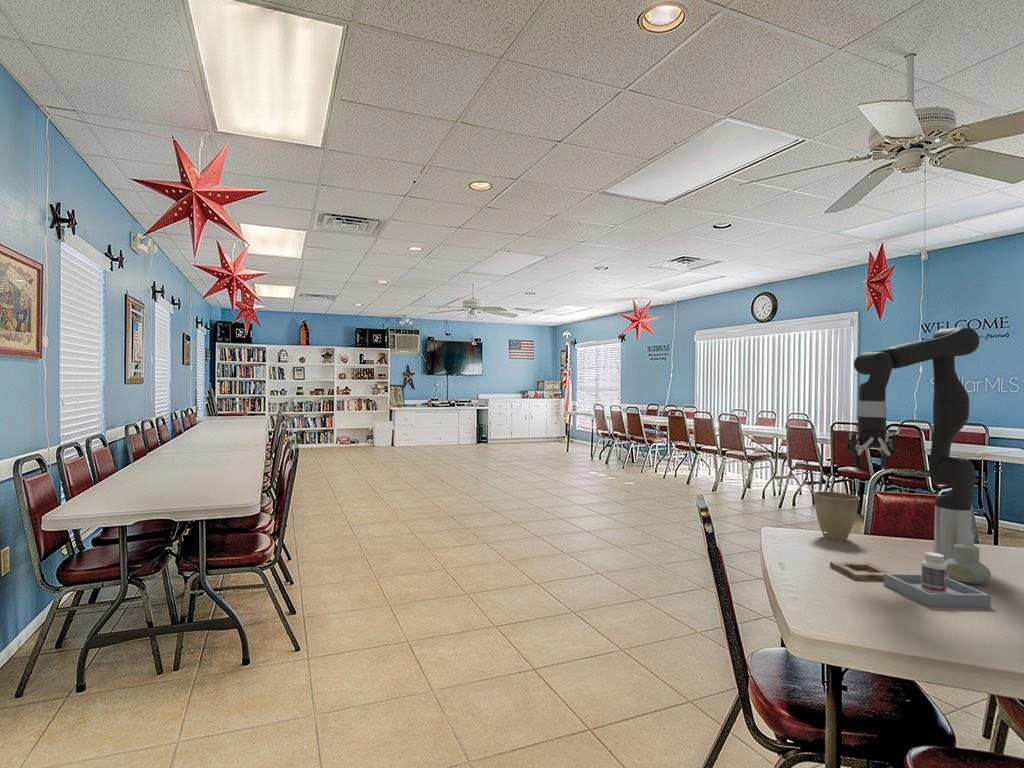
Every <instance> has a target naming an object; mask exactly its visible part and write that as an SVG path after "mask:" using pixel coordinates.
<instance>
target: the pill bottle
mask: <svg viewBox="0 0 1024 768" xmlns="http://www.w3.org/2000/svg"><path fill="white" fill-rule="evenodd" d="M924 558H925V560H922V561H921V566H920V567H921V569H920V570H921V571H920V572H921V573H920V574H921V588H922V589H923V590H924V591H927V592H930V593H946V592H947V591H946V590H947V577H948V576H947V566H946V565H945V564H944V563H943V561H944V555H942V554H938V553H934V552H931V551H930V552H928V551H927V552H925V554H924Z"/></svg>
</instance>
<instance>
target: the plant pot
mask: <svg viewBox="0 0 1024 768" xmlns="http://www.w3.org/2000/svg"><path fill="white" fill-rule="evenodd" d="M812 493H813V494H812V495H813V502H814V508H815V509H814V510H815V514H816V518H817V521H818V524H819V528H820V531H821V533H822V532H823V533H822V534H821V535H822V536H823V538H825V537H826V538H825V539H827V538H828V540H830V539H834V540H833V541H836V540H842V541H841V542H844V541H843V540H846V541H847V540H848V538H849V536H850V534H851V531H852V529H853V527H854V524H855V520H856V518H857V514H858V509H859V505H860V500H861V497H859V496H857V495H855V494H854V495H853V494H850V493H846V492H845V493H844V492H837V491H820V490H819V491H814V492H812ZM824 532H827V533H824Z"/></svg>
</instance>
